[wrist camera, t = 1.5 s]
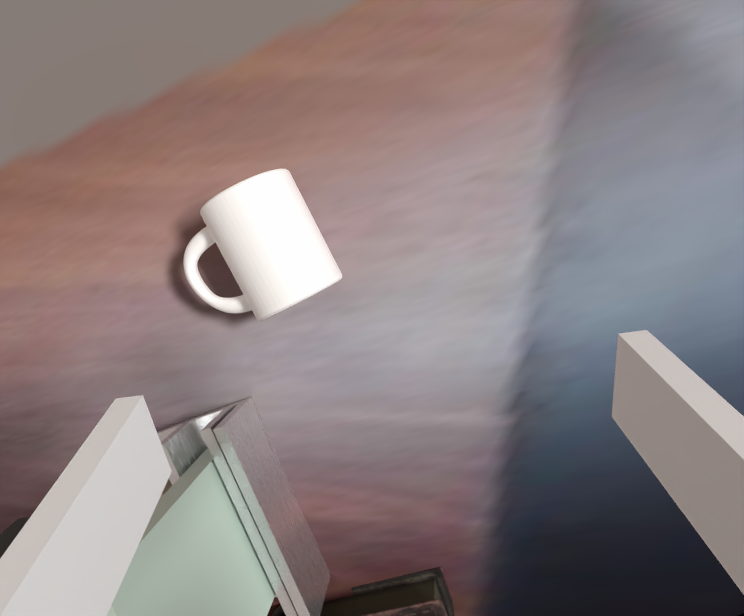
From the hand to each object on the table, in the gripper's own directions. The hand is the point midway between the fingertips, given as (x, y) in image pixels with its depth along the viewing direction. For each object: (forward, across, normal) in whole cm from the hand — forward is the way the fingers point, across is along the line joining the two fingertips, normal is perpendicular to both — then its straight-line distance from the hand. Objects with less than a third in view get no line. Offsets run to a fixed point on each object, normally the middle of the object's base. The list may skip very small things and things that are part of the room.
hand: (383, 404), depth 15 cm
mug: (+33, +10, +6) cm, 35 cm away
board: (+26, +15, +29) cm, 42 cm away
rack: (+27, +20, +30) cm, 45 cm away
